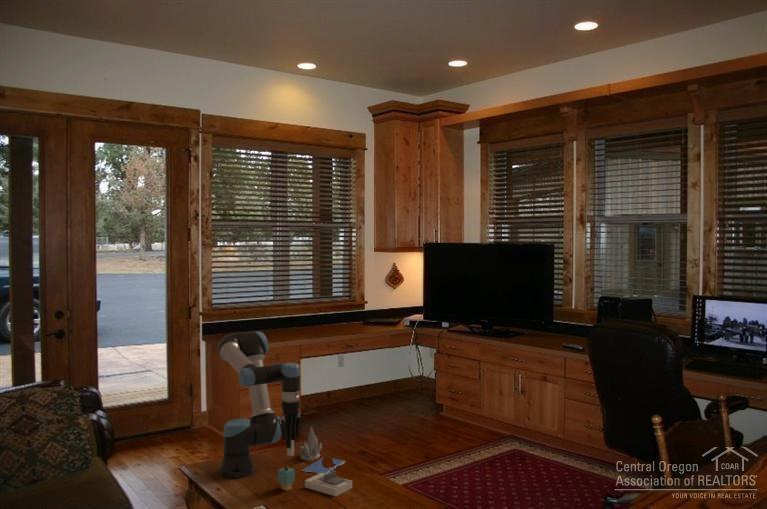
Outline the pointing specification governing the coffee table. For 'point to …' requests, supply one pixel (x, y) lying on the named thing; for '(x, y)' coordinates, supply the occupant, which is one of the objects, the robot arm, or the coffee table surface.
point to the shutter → (332, 478)
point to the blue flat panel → (320, 468)
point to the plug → (286, 477)
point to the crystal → (311, 447)
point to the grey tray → (327, 485)
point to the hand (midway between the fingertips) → (290, 454)
